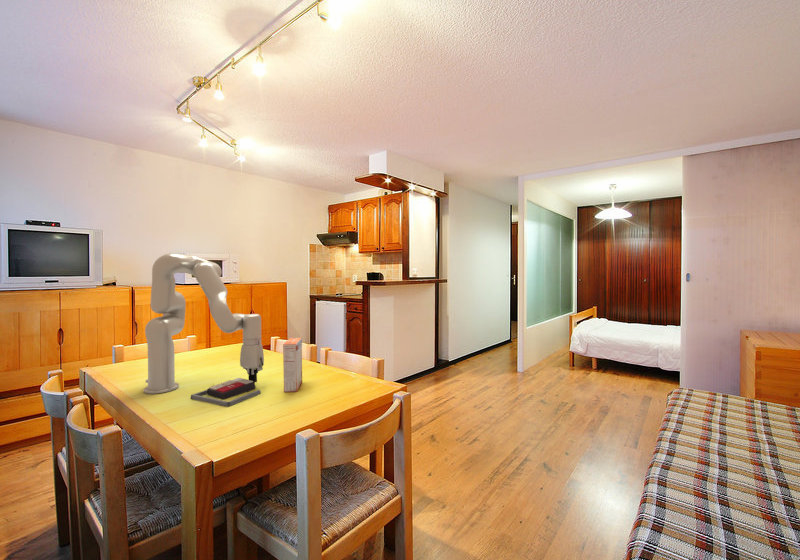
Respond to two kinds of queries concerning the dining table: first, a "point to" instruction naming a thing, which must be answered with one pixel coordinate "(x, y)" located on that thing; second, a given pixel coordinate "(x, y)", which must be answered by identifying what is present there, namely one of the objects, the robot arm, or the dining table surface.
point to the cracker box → (292, 364)
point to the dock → (200, 397)
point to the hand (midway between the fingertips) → (252, 382)
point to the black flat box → (231, 388)
